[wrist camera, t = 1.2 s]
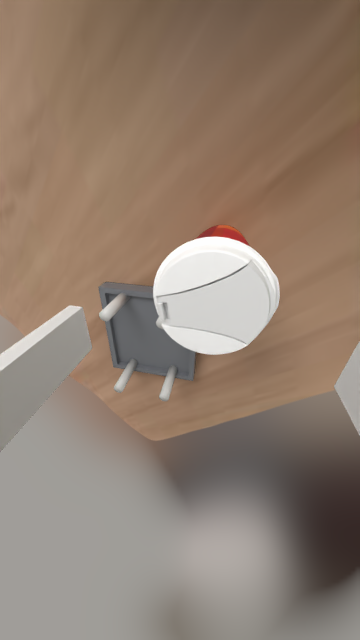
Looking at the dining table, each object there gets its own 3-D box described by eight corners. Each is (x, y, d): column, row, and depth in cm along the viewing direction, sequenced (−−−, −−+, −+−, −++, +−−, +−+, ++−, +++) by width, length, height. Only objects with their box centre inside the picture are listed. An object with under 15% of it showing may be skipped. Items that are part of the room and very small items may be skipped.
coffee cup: (191, 285, 29) (160, 359, 17) (182, 219, 25) (132, 250, 13) (257, 281, 27) (278, 362, 14) (259, 207, 23) (291, 231, 10)
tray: (105, 281, 31) (75, 303, 25) (201, 291, 29) (193, 318, 23) (118, 359, 39) (98, 390, 33) (194, 372, 37) (187, 407, 31)
